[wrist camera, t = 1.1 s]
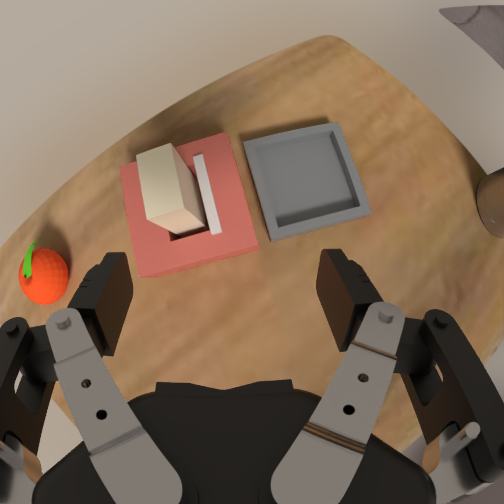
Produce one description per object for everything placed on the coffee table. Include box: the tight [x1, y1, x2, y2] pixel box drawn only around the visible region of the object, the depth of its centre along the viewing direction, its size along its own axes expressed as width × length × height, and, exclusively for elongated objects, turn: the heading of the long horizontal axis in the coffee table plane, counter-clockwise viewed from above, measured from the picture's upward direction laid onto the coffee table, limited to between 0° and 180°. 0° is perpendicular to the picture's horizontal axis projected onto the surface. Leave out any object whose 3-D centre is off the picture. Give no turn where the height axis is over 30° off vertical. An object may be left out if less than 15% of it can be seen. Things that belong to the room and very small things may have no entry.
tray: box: [243, 122, 371, 242], centre depth 32 cm, size 11×11×2 cm
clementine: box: [19, 239, 69, 305], centre depth 30 cm, size 8×7×7 cm
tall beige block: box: [136, 143, 210, 238], centre depth 28 cm, size 3×6×12 cm, turn 15°
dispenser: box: [120, 132, 259, 278], centre depth 31 cm, size 12×12×6 cm
